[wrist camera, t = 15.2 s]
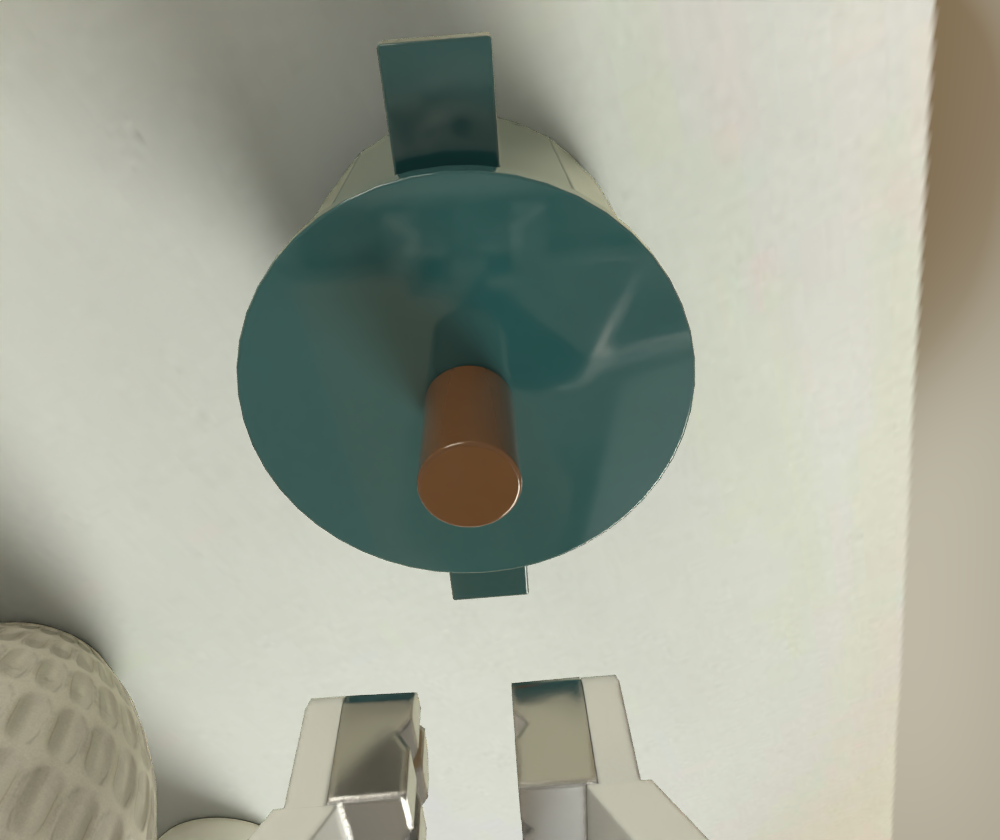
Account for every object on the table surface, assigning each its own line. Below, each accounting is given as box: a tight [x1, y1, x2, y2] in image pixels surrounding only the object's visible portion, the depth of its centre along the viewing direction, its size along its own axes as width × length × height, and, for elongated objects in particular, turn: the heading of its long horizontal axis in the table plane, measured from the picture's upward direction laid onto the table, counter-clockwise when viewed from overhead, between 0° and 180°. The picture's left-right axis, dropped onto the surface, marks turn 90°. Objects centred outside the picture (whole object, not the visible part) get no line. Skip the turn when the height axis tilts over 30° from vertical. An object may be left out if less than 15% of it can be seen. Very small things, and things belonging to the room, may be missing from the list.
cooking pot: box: [316, 32, 618, 600], centre depth 23 cm, size 10×16×8 cm, turn 4°
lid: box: [237, 165, 695, 573], centre depth 18 cm, size 11×11×5 cm
